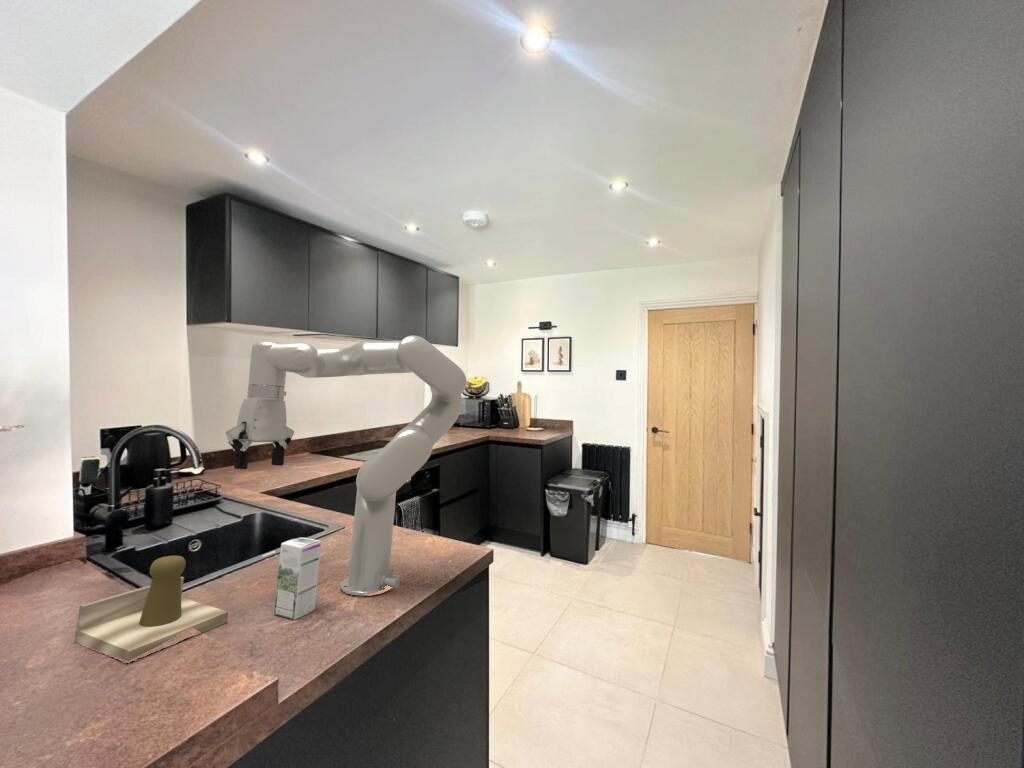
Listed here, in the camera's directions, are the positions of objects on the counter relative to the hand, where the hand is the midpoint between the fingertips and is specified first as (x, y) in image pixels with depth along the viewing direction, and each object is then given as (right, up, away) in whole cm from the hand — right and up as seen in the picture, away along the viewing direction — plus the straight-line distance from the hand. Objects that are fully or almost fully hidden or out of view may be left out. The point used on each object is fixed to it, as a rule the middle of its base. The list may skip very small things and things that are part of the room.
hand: (259, 466), depth 97 cm
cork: (-6, -24, -20) cm, 32 cm away
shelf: (-6, -26, -21) cm, 34 cm away
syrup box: (+14, -28, -11) cm, 33 cm away
